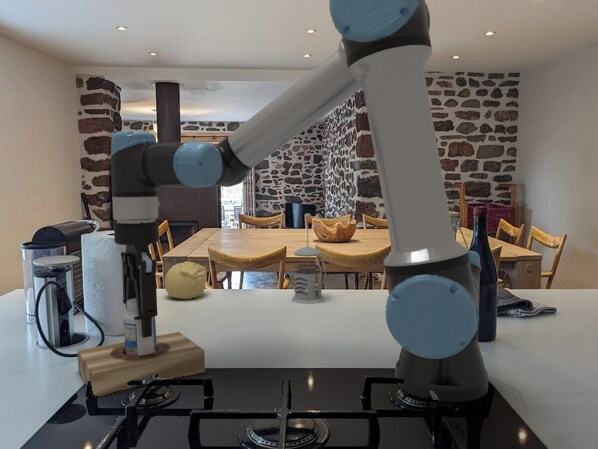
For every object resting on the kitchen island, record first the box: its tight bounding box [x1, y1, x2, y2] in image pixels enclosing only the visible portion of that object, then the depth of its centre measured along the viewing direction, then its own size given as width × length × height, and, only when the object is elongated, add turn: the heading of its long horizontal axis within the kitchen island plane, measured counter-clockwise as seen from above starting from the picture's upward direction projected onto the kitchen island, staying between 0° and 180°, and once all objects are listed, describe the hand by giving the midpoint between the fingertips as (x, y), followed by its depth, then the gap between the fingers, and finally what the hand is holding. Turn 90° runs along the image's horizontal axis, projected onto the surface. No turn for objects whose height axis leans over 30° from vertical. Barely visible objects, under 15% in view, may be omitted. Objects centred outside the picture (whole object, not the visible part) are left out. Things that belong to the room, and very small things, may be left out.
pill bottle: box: [123, 298, 157, 356], centre depth 89 cm, size 6×5×10 cm
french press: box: [291, 213, 327, 305], centre depth 140 cm, size 10×12×25 cm
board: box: [77, 331, 206, 397], centre depth 89 cm, size 13×19×4 cm
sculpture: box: [164, 260, 208, 300], centre depth 145 cm, size 12×12×11 cm
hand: (140, 348), depth 89 cm, fingers closed on pill bottle, 5 cm apart
